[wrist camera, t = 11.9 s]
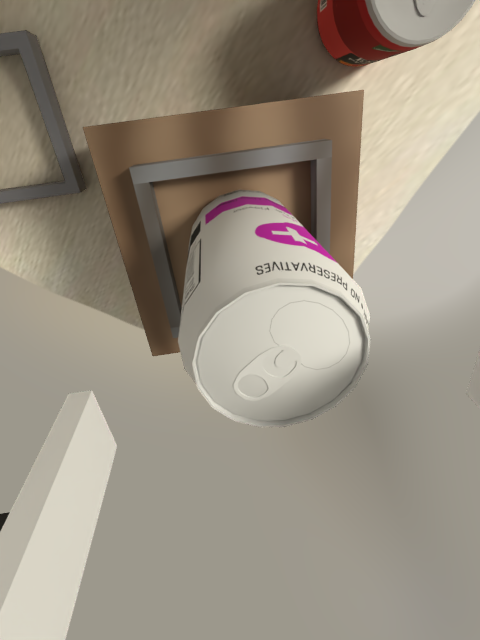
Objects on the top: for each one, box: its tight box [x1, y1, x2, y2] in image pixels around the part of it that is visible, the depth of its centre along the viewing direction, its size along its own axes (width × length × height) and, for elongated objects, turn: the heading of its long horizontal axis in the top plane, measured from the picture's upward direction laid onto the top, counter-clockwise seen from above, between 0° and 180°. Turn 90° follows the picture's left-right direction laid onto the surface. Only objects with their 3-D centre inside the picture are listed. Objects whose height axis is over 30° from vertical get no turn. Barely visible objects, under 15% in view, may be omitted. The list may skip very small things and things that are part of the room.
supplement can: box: [178, 190, 371, 427], centre depth 20 cm, size 8×8×15 cm
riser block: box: [83, 90, 364, 356], centre depth 31 cm, size 18×18×14 cm
